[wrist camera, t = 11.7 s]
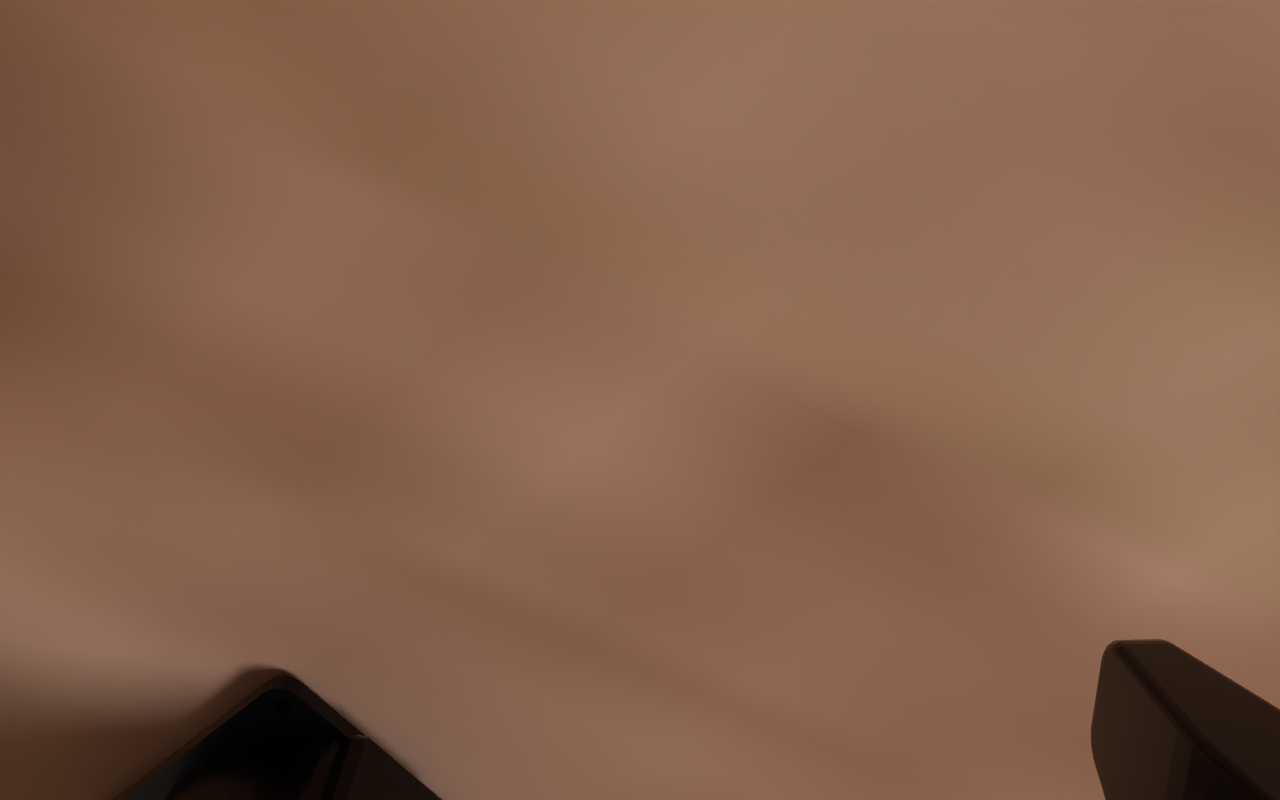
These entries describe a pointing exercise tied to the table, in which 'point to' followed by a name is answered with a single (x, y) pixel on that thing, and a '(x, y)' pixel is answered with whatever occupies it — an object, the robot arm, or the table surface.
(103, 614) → the table surface
